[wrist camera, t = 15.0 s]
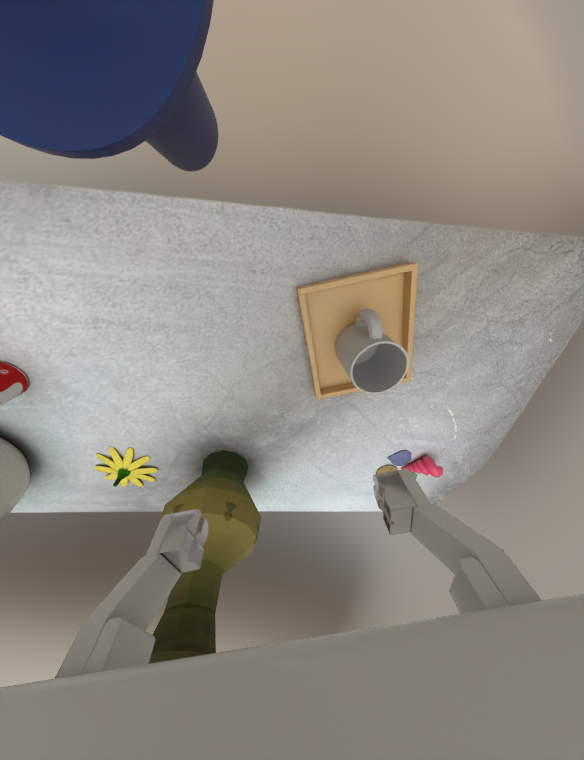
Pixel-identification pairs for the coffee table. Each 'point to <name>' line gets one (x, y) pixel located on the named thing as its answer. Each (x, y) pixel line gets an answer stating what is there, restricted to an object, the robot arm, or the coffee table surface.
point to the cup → (371, 355)
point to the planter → (11, 477)
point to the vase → (207, 556)
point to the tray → (340, 309)
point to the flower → (125, 468)
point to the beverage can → (11, 382)
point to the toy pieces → (412, 465)
